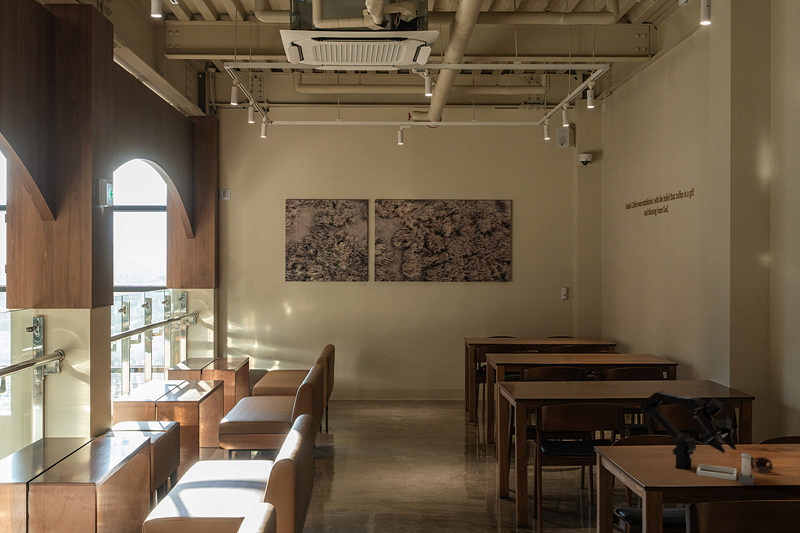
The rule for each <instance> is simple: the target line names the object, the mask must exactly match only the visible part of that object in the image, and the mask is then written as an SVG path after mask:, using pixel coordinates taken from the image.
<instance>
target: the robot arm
mask: <svg viewBox="0 0 800 533" xmlns="http://www.w3.org/2000/svg"><path fill="white" fill-rule="evenodd" d="M662 402H666V403H671V404H675V405H679V406H682V407H683V408H684V409H686V410H689V411H692V412H691V419H695V418H696V419H697V420H698V422H699V423H700V424H701V425H702V427H701V429H703V430H704V429H705V430H706V433H705V434H703V435H701V441H702V443H703V444H706V445H708V446H711V447H712V448H714V449H715V450H718V451H719V452H720V453H722V454H725V453H726V450H725V448H724V447H723V446H722V444H721V442H720V441H719V438H721V441H722V442H724V443H725V444H726V445H727V446H728V447H730V448H731V449H732V450H736V449H737V447H736V445H735V442H734V438H733V434H734V431H735V430H734V428H733V427H732V420H731V419H730V418H729V416H726V417H722V420H718V419H716V418H714V417H713V416H716V415H717V414H718V413H719V412H721V411H722V410H723V409H725V407H724V404H723V402H722V401H720V400H719V399H717V398H716V397H715V396H711V397H710V398H709V399H708V400H707V401H706V400H703V399H702V398H701V397H700V396H684V395H683V396H682V395H678V394H674V393H668V392H664V391H663V390H662V391H661V390H660V391H659V390H658V391H656V392H654V393H653V394H652V395H650V396H648V397H647V398H646V399H644V400H641V401H640V403H639V408H640V410H641V411H642V412H644V413H645V414H646V415H647V416H650V417H652V418H653V419H654V420H655V421H656V422H657V423H658V424H659V426H661V428H662V429H663V430H664V431H665V432H666V433H667V434H668V435H669V436H670V437H671V438H672V439H673V441H674V445H675V447H674V448H673V449H672V454H673V455H674V456H675V466H674V467H676V468H675V469H680V468H682V470H688V469H690V470H691V468H692V467H693V463H692V462H693V458H692V457H691V455H693V454H694V452H695V451H696V449H697V443H696V441H695V439H694V438H693V437H691V435H690V434H689V433H685V434H684V433H682V432H681V431H680V430H679V429H678V428H677V426H675V424H674V423H673V422H672V421H671V420H670V419H669V418H668V417H667V416H666V415H665V414H664V412H662V410H661V406H660V405H661V403H662ZM696 410H697V411H696Z"/></svg>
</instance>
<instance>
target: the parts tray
mask: <svg viewBox="0 0 800 533" xmlns="http://www.w3.org/2000/svg"><path fill="white" fill-rule="evenodd" d="M707 470H708V471H707ZM737 472H738V470H737V467H736V468H735V467H728V466H718V465H711V464H703V463H698V466H697V468H696V475H697V476H701V477H707V478H708V477H709V478H715V479H723V480H730V481H737Z"/></svg>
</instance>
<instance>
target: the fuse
mask: <svg viewBox="0 0 800 533" xmlns="http://www.w3.org/2000/svg"><path fill="white" fill-rule="evenodd" d="M740 456H741V473H742V474H741V476H742V477H749V478H751V475H752V473H751V472H752V467H751V457H752V454H751V453H747V452H742V453H741V454H740Z"/></svg>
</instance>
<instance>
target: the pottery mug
mask: <svg viewBox="0 0 800 533" xmlns="http://www.w3.org/2000/svg"><path fill="white" fill-rule="evenodd" d="M767 464H768V465H767ZM773 467H774V466H773V463H772V461H771V460H770V459H769V458H767V457H765V456H756V457H755V458H754V457H752V456H751V470H753V469H754V471H753V472H754V473H757V474H763V473H769V472H771V471H772V470H774V468H773Z"/></svg>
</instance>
